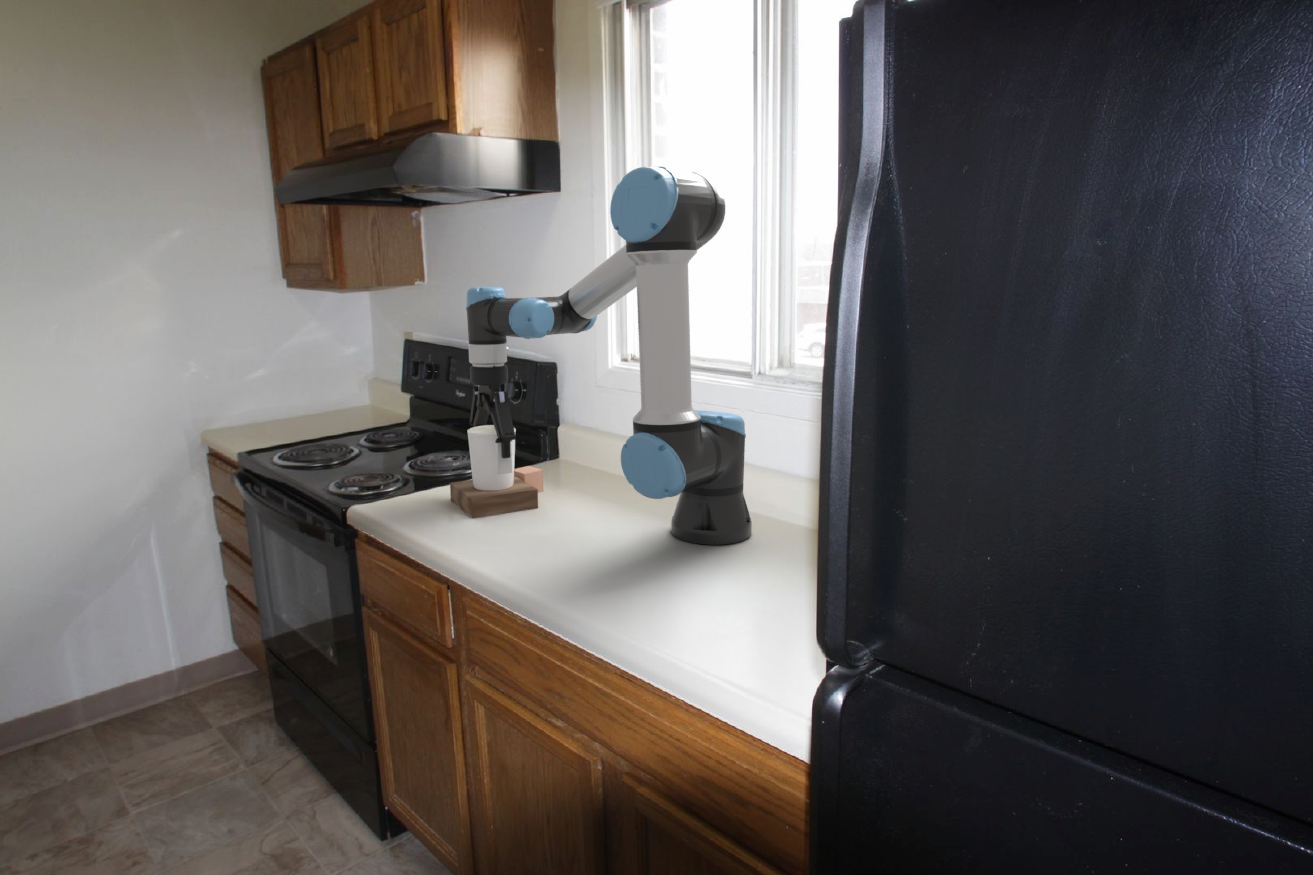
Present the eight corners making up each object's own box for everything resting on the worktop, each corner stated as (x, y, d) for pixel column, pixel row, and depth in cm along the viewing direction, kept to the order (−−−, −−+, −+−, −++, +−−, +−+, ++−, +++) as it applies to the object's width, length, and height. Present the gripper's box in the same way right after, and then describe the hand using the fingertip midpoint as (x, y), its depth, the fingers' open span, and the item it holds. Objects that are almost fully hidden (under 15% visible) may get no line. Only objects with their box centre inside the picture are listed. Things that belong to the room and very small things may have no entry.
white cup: (506, 493, 166) (504, 435, 163) (461, 490, 168) (459, 433, 165) (524, 481, 175) (522, 426, 173) (481, 478, 177) (479, 423, 175)
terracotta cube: (543, 491, 182) (542, 469, 181) (525, 496, 179) (524, 473, 178) (529, 487, 186) (529, 465, 185) (511, 491, 182) (510, 469, 181)
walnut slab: (538, 507, 170) (537, 489, 169) (472, 518, 163) (471, 498, 162) (513, 491, 182) (512, 474, 181) (450, 500, 174) (450, 482, 174)
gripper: (529, 369, 157) (533, 476, 162) (485, 357, 178) (489, 452, 183) (492, 372, 154) (497, 481, 158) (451, 359, 175) (456, 456, 179)
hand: (493, 466), depth 170 cm, fingers open, 13 cm apart
